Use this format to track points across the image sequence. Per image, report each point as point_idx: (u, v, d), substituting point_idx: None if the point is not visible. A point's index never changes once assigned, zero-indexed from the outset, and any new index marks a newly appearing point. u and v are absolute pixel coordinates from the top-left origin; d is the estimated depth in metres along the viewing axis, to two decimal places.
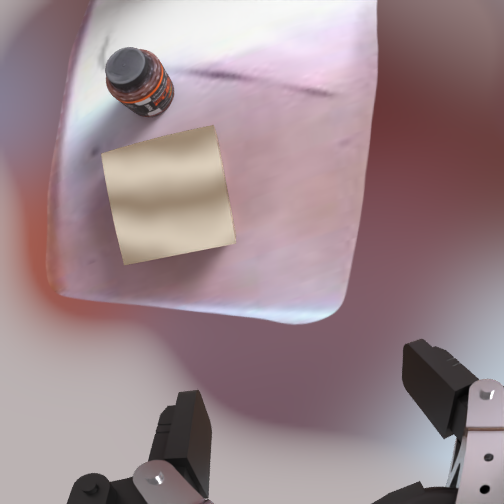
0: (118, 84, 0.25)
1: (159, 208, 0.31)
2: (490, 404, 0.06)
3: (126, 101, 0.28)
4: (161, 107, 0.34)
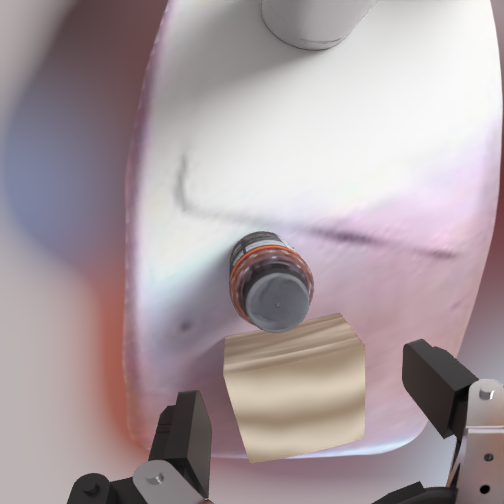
0: None
1: (295, 423, 0.27)
2: (490, 404, 0.06)
3: None
4: None
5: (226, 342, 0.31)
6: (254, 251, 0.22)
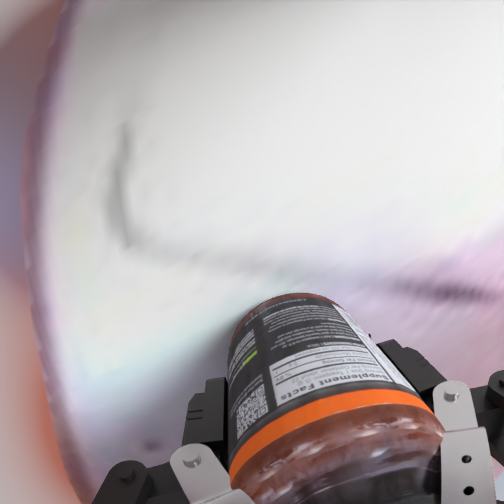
0: None
1: None
2: (453, 406, 0.07)
3: None
4: None
5: None
6: (308, 424, 0.06)
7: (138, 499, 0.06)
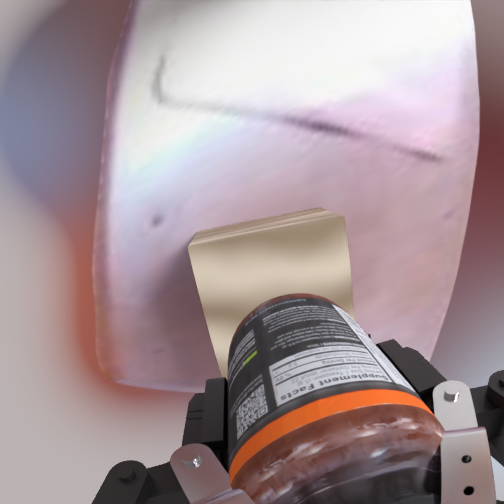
0: None
1: None
2: (453, 406, 0.07)
3: None
4: None
5: (197, 233, 0.29)
6: (308, 424, 0.06)
7: (138, 499, 0.06)
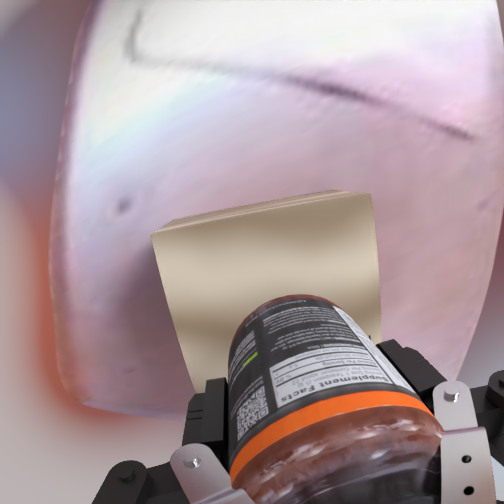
0: None
1: None
2: (453, 406, 0.07)
3: None
4: None
5: (173, 221, 0.22)
6: (309, 426, 0.06)
7: (139, 499, 0.06)
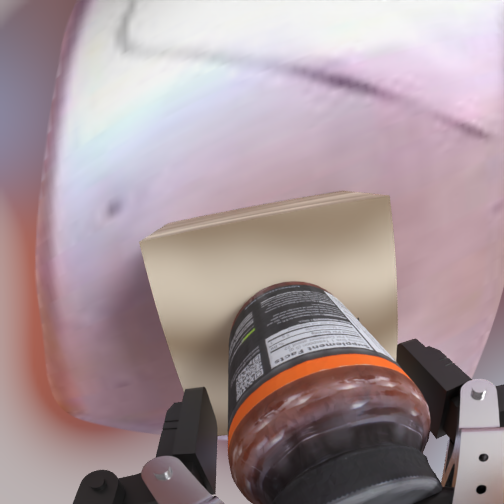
0: None
1: None
2: (482, 404, 0.06)
3: None
4: None
5: (167, 225, 0.20)
6: (297, 380, 0.07)
7: None
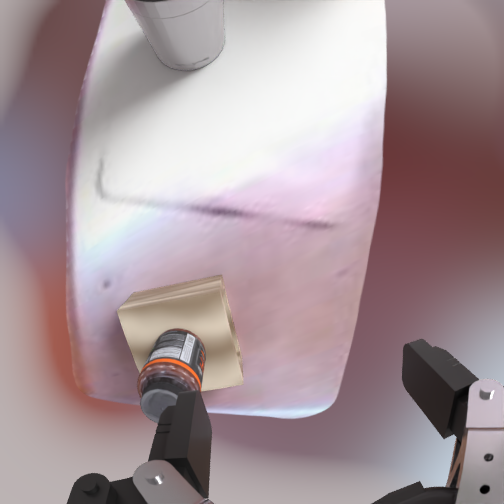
0: None
1: None
2: (490, 404, 0.06)
3: None
4: None
5: (132, 295, 0.39)
6: (151, 364, 0.27)
7: None
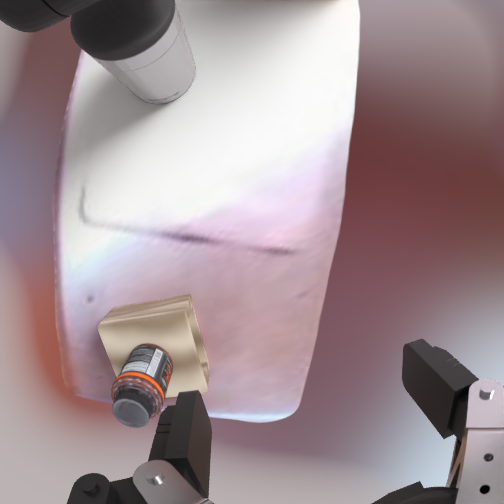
0: None
1: None
2: (490, 404, 0.06)
3: None
4: None
5: (112, 310, 0.43)
6: (122, 376, 0.30)
7: None
